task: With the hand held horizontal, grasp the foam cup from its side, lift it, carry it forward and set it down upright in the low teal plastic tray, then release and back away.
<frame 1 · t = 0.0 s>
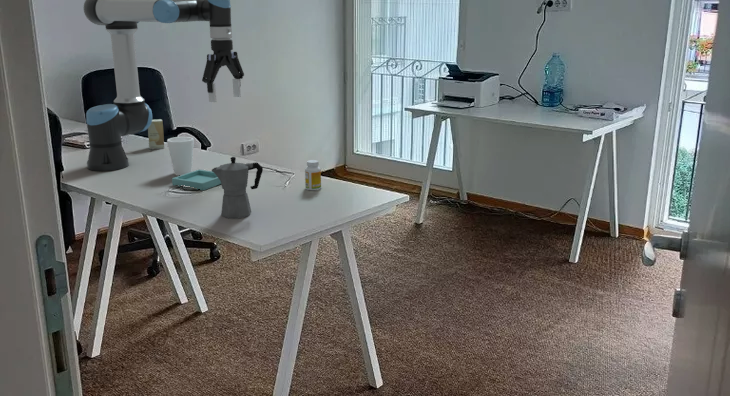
hand: (225, 99, 246), 28 cm above the table, tool pointing down, fingers open, 13 cm apart
skincare box: (157, 148, 297), on the table
tray: (201, 182, 243), on the table
supplement bottle: (313, 189, 236), on the table
foam cup: (183, 173, 256), on the table
coffeepot: (240, 214, 210), on the table
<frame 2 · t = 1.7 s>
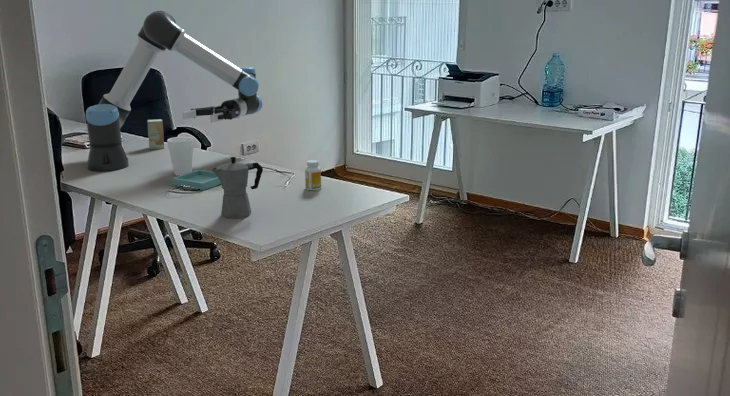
hand: (197, 117, 258), 20 cm above the table, tool horizontal, fingers open, 13 cm apart
nothing on the table moved.
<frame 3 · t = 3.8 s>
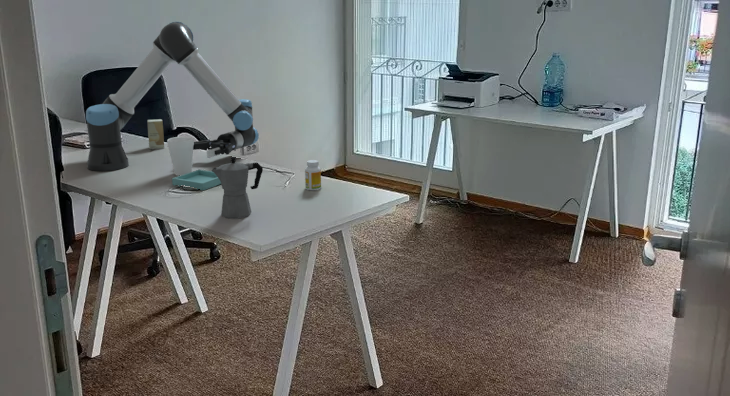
hand: (193, 152, 259), 7 cm above the table, tool horizontal, fingers open, 13 cm apart
nothing on the table moved.
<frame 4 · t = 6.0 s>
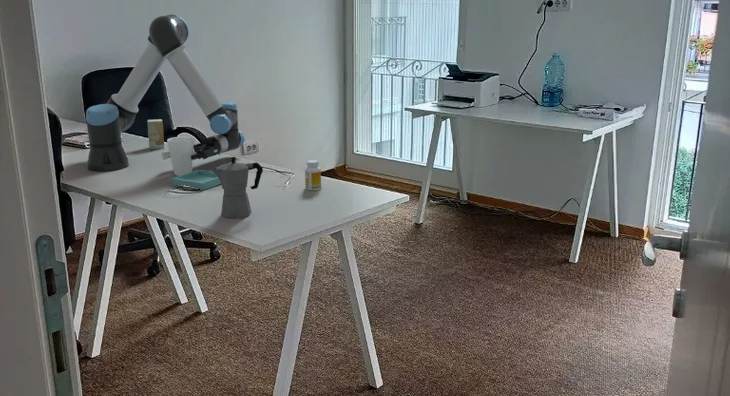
hand: (173, 157, 250), 7 cm above the table, tool horizontal, fingers closed on foam cup, 9 cm apart
foam cup: (183, 173, 256), on the table, touching gripper
everything else where it was.
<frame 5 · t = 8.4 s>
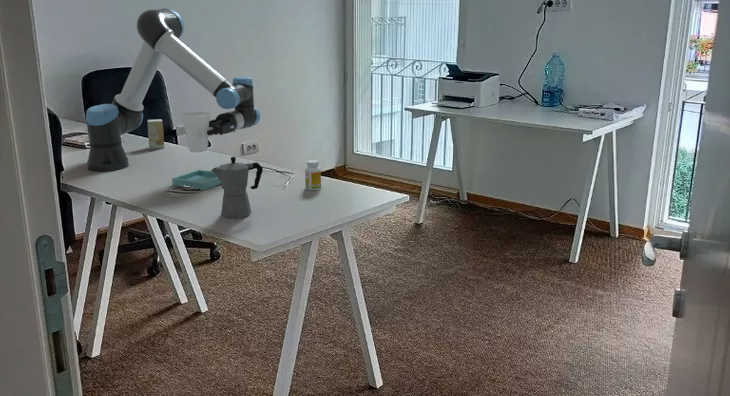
hand: (188, 133, 237), 18 cm above the table, tool horizontal, fingers closed on foam cup, 9 cm apart
foam cup: (198, 150, 243), point 11 cm above the table, touching gripper
everything else where it was.
when the fingers open (9 cm above the table, at t = 10.8 s): foam cup drops 1 cm, resting on tray.
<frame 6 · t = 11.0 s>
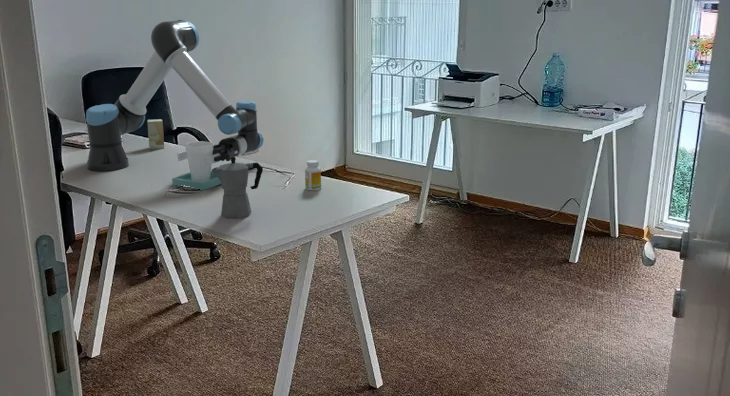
hand: (192, 159, 237), 9 cm above the table, tool horizontal, fingers open, 12 cm apart
foam cup: (201, 180, 243), point 1 cm above the table, touching tray
everything else where it was.
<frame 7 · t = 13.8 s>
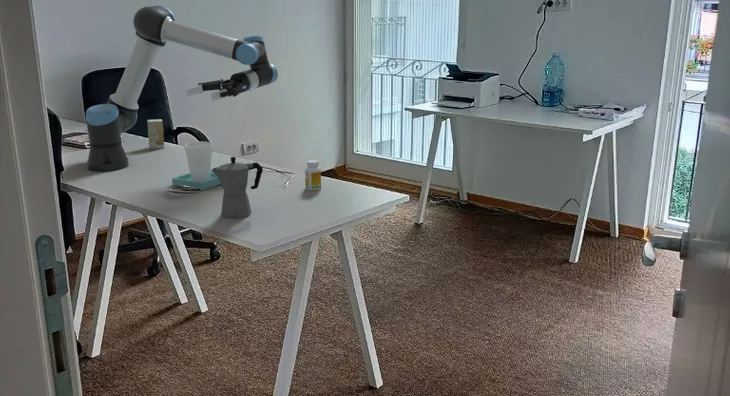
hand: (199, 94, 244), 30 cm above the table, tool horizontal, fingers open, 13 cm apart
nothing on the table moved.
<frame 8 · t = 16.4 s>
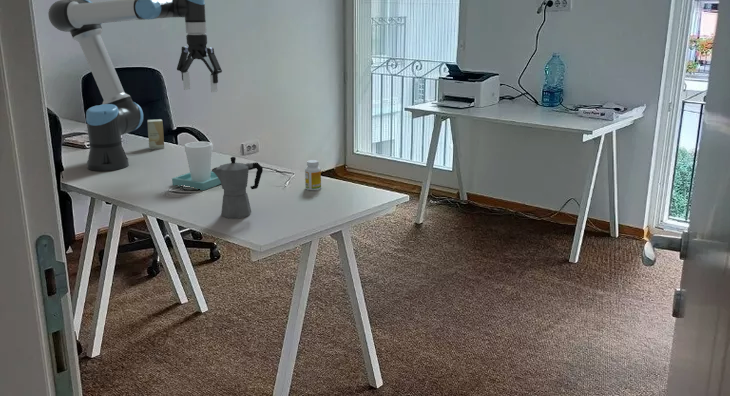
hand: (200, 90, 262), 29 cm above the table, tool pointing down, fingers open, 13 cm apart
nothing on the table moved.
at the end: foam cup inside the target area on the tray (0.1 cm from its centre), point 0.8 cm above the tray's base; foam cup tilted 0°; the gripper is holding nothing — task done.
